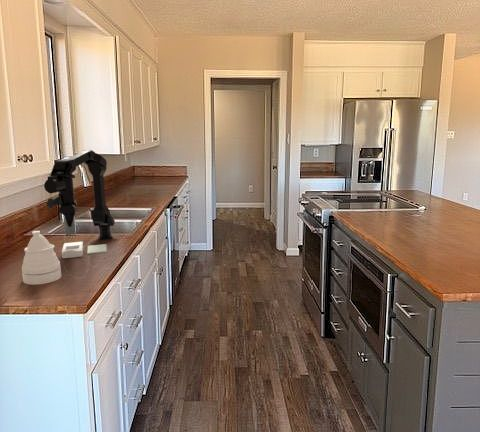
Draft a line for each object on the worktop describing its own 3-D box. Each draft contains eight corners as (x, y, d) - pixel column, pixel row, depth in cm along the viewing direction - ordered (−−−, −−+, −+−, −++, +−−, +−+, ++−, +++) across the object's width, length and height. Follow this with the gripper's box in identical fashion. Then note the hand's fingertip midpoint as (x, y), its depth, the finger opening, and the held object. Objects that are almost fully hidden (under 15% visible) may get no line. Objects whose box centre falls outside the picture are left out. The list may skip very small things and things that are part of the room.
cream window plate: (64, 248, 200) (64, 243, 199) (83, 246, 202) (82, 241, 201) (62, 258, 185) (61, 252, 184) (82, 256, 187) (81, 250, 187)
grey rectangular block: (66, 233, 192) (64, 215, 190) (76, 232, 193) (74, 214, 191) (65, 235, 188) (63, 216, 187) (75, 234, 189) (73, 216, 188)
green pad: (87, 246, 202) (87, 245, 202) (106, 245, 204) (106, 244, 204) (87, 253, 190) (87, 252, 190) (106, 251, 193) (106, 250, 193)
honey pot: (59, 282, 157) (54, 232, 153) (20, 286, 153) (13, 236, 149) (63, 271, 169) (58, 225, 165) (26, 274, 165) (20, 228, 161)
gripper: (48, 188, 193) (52, 223, 196) (43, 194, 176) (47, 232, 179) (75, 186, 196) (78, 220, 200) (73, 192, 179) (76, 229, 182)
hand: (70, 225), depth 190 cm, fingers closed on grey rectangular block, 4 cm apart
